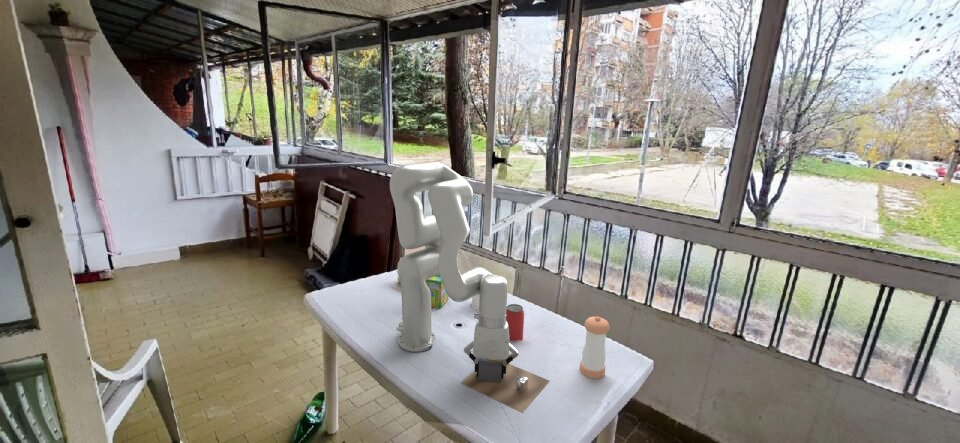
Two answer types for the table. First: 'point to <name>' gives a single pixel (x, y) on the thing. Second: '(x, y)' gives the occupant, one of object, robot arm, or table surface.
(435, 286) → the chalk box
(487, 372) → the grey cube with stripe
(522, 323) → the beer can
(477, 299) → the cylinder with rectangular tab
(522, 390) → the d shaft
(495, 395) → the base plate
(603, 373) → the pepper shaker
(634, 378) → the table surface
